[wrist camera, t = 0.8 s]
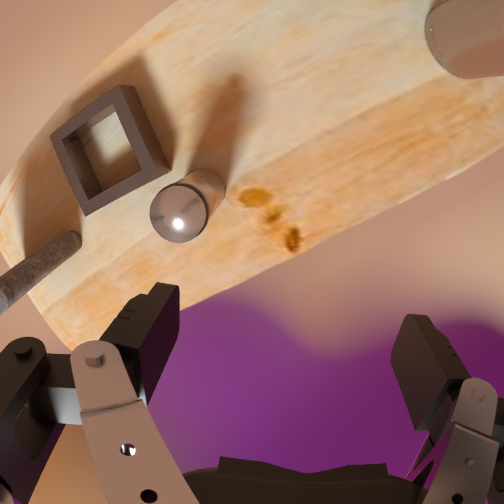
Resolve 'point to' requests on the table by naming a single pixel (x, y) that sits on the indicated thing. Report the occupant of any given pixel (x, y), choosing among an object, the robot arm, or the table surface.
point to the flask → (36, 268)
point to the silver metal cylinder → (187, 205)
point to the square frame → (137, 134)
